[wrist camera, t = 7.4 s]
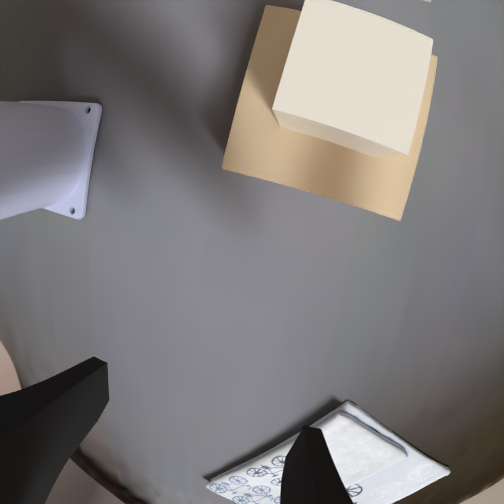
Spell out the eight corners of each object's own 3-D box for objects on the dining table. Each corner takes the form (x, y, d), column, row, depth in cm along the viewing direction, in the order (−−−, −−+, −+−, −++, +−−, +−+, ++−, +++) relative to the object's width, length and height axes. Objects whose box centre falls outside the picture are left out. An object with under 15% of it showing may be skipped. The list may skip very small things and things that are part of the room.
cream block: (280, 126, 14) (272, 108, 9) (304, 43, 12) (307, -6, 8) (372, 156, 13) (408, 155, 9) (394, 73, 12) (433, 39, 7)
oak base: (233, 167, 17) (220, 168, 15) (271, 26, 15) (266, 4, 12) (384, 211, 17) (400, 221, 14) (418, 70, 14) (437, 57, 11)
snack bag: (345, 392, 21) (348, 411, 19) (450, 465, 23) (455, 478, 21) (203, 475, 27) (198, 489, 25) (325, 526, 29) (325, 538, 27)
